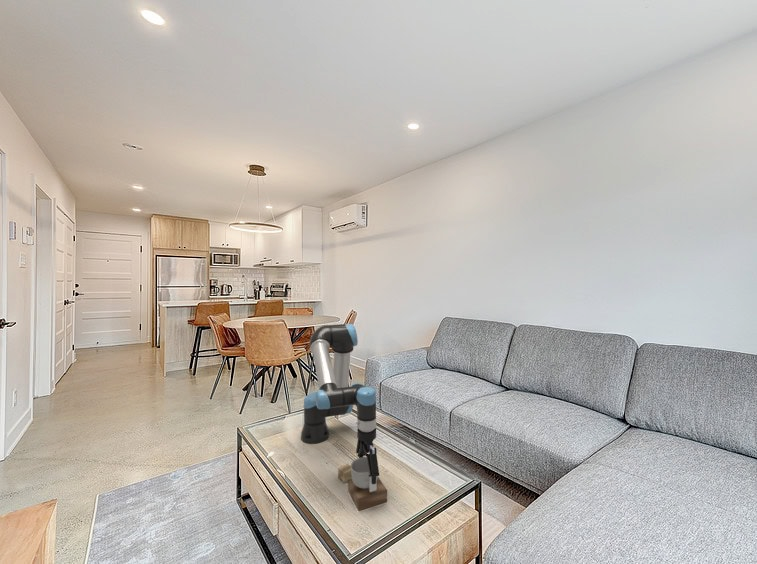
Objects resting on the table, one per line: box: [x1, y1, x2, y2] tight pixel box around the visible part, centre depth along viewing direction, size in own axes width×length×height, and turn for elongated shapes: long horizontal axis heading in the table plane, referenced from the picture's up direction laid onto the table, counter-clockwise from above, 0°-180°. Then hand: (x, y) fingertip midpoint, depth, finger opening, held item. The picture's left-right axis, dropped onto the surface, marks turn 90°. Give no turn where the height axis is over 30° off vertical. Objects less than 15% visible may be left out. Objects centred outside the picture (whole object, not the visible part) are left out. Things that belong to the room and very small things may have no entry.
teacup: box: [350, 456, 379, 489], centre depth 132 cm, size 14×11×8 cm
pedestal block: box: [347, 476, 388, 513], centre depth 132 cm, size 12×12×5 cm
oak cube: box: [337, 463, 352, 484], centre depth 144 cm, size 5×5×5 cm
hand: (367, 481), depth 132 cm, fingers closed on teacup, 11 cm apart
